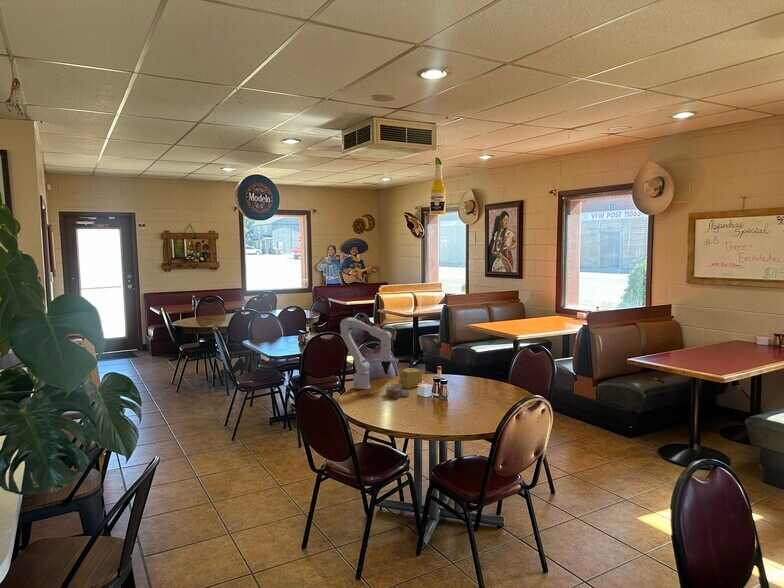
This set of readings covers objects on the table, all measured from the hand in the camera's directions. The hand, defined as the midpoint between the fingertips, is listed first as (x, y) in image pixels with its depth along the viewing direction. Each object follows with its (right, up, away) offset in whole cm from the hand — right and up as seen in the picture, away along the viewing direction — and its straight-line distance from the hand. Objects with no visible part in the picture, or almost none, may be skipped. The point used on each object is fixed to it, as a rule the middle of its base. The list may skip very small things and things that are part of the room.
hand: (386, 373), depth 326 cm
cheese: (+15, -9, +9) cm, 20 cm away
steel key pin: (+7, -11, -13) cm, 18 cm away
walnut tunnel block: (+5, -11, -13) cm, 18 cm away
